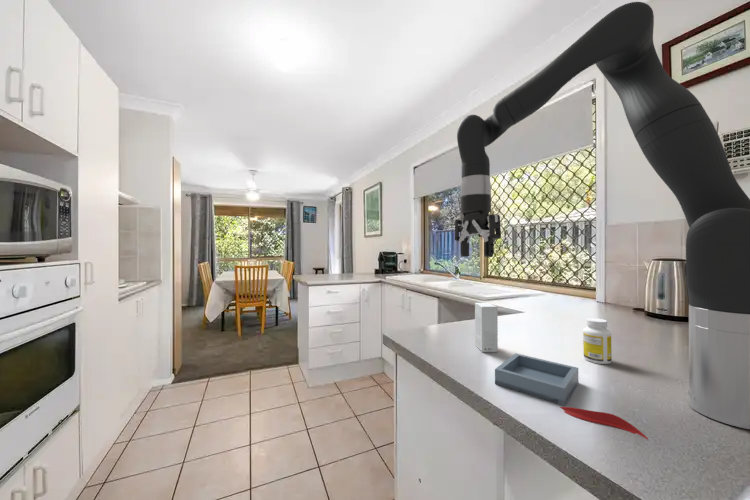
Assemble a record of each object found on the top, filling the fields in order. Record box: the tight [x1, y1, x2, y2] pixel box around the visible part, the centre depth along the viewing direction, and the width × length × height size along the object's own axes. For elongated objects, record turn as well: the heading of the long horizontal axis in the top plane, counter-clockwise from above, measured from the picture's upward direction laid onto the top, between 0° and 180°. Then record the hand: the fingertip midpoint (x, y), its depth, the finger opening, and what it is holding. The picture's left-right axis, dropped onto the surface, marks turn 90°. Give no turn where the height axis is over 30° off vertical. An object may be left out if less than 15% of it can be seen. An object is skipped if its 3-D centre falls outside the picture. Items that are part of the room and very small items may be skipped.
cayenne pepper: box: [559, 406, 649, 441], centre depth 46 cm, size 12×5×2 cm, turn 31°
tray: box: [494, 353, 579, 407], centre depth 59 cm, size 12×12×3 cm
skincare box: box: [474, 302, 499, 353], centre depth 79 cm, size 6×4×12 cm
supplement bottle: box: [582, 317, 613, 365], centre depth 71 cm, size 5×5×10 cm
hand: (476, 256), depth 77 cm, fingers open, 8 cm apart
